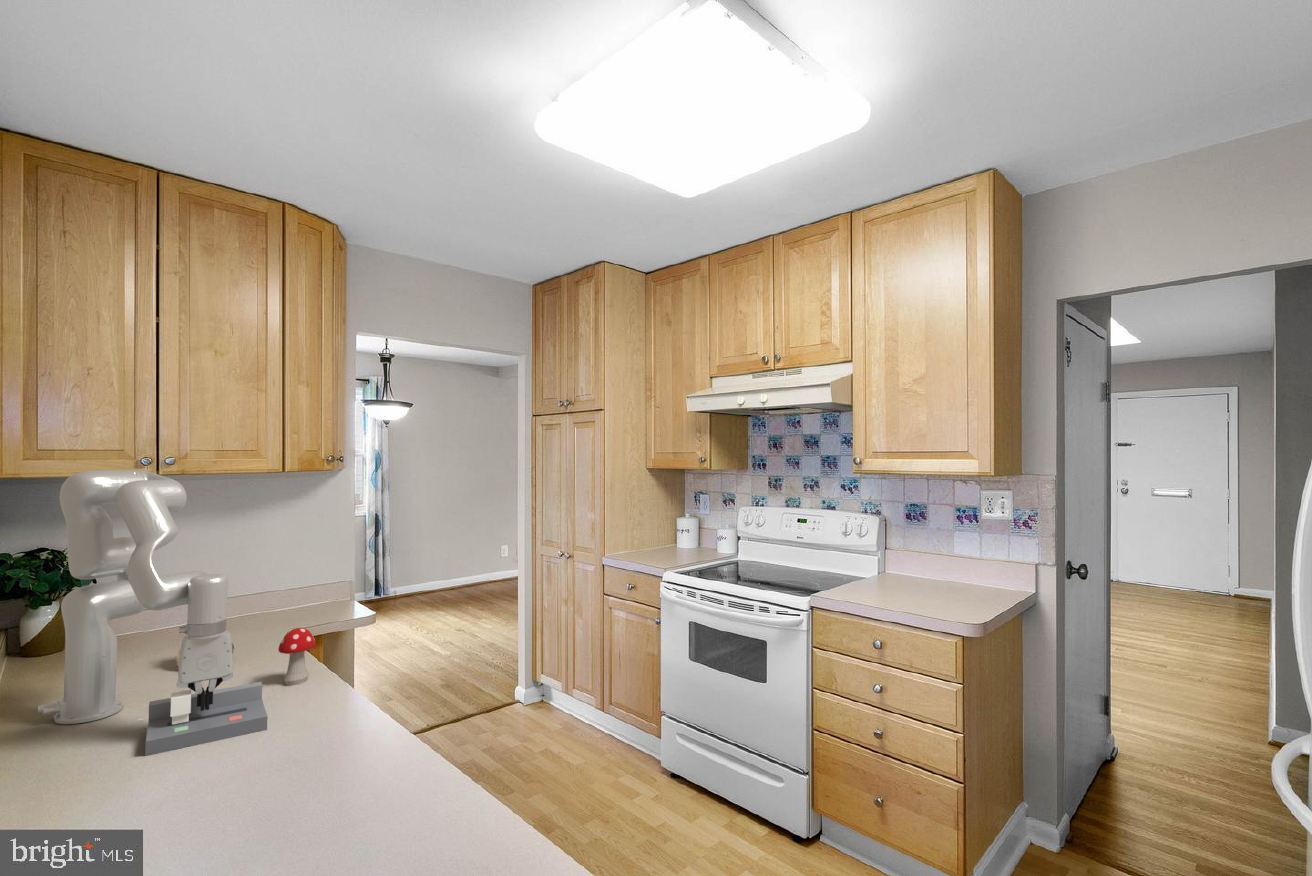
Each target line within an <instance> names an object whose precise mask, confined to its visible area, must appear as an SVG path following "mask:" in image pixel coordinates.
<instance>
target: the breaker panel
mask: <svg viewBox="0 0 1312 876" xmlns="http://www.w3.org/2000/svg"><path fill="white" fill-rule="evenodd" d="M170 715H171V697H168V698H162V699H156V700H152V701H150V700H149V702H148V723H147V729H146V738H145V752H144V755H145V757H147V756H151V755H156V754H160V753H161V754H162V753H166V752H170V751H175V750H179V749H184V748H188V747H193V746H197V745H198V746H199V745H203V744H207V743H210V742H211V743H212V742H216V741H220V740H225V739H230V738H235V737H239V736H240V737H241V736H242V735H243V736H244V735H248V734H252V733H253V734H254V733H257V732H262V730H263V731H267V730H268V713H267V711H266V707H265V705H264V702H263V683H262V681H258V682H253V683H251V682H250V683H247V684H241V685H236V686H229V687H224V688H218V689H215V690H214V691H213V704H210V705H209V710H203V711H201V709H200V707H197V693H196V692H195V693H191V713H189V721H188V722H183V723H178V724H173V725H172V717H170Z"/></svg>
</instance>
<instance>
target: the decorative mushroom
mask: <svg viewBox="0 0 1312 876" xmlns="http://www.w3.org/2000/svg"><path fill="white" fill-rule="evenodd" d="M314 637H315V636H314V635H313V634H312V633H311V631H310V630H309V629H307V628H304V627H296V628H293V629H291V630H289V631H288V632H287V633H286V634H285V635H284V636H283V639H282V640H281V642H280V643H279V646H278V650H277V651H278V653H280V654H285V655H287V654H288V655H289V657H288V658H289V660H288V665H287V670H286V674H285V675H284V679H283V681H284V685H286V686H296V685H301V684H302V683H305V682H306V681H307V680H308V677H309V675H310V674H309V672H308V669H307V665H306V658H305V652H307V651H309V650H312V649H314V648H315V646H316V644H317V643H316V639H315V638H314Z"/></svg>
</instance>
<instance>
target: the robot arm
mask: <svg viewBox="0 0 1312 876" xmlns="http://www.w3.org/2000/svg"><path fill="white" fill-rule="evenodd" d="M187 496H188V494H187V491H186V489H185V488H184V486H183V485H182V483H180V482H179V481H177V480H176V479H173V478H170V477H168V476H163V475H162V474H161V475H160V474H157V473H155V472H151V471H148V470H141V469H99V470H98V469H97V470H95V469H94V470H93V469H92V470H86V471H85V470H84V471H80V472H76V473H74V474H72V475H70V476H69V477H68V478H66V479H65V480H64V482H63V484H62V485H61V487H60V492H59V504H60V509H61V511H62V514H63V516H64V520H65V524H66V539H67V540H66V543H67V544H66V545H67V562H68V563H67V564H68V571H69V572H70V575H71V576H72V578H74V579H77V580H95V579H100V578H107V577H113V576H114V577H115V576H116V579H117V580H112V581H107V582H100V583H93V584H89V585H84V586H83V585H82V586H81V587H77V588H74V589H73V590H71V591H70V592H68V593H66V595H65V596H64V598H63V599H62V601H61V604H60V607H61V608H60V609H61V610H60V611H61V616H62V620H63V626H64V631H65V632H64V633H65V648H64V649H65V651H64V654H65V658H64V660H65V661H64V684H63V697H62V699H61V700H57V701H56V702H55V703H45V704H40V705H38V707H37V715H38V714H40V715H41V714H42V715H45V716H46V715H51V714H55V713H56V714H55V715H54V716H53V722H54V723H56V724H60V725H75V724H76V725H77V724H83V723H84V724H85V723H88V722H93V721H98V720H101V719H105V718H107V717H110V716H112V715H113V716H114V715H115V714H117V713H119V712H120V711H122V709H123V708H124V702H122V701H121V700H117V699H116V691H117V687H116V686H117V685H116V684H117V663H118V662H117V661H118V660H117V659H118V637H117V635H116V631H114V629H112V628H111V626H110V625H109V624H108V622H110V621H113V620H116V619H122V618H125V617H130V616H134V615H137V614H140V613H141V612H143V611H145V610H146V609H147V610H149V611H163V610H167V609H171V608H175V607H179V606H185V605H187V617H186V618H187V619H186V620H187V621H186V624H185V625H183V626H179V628H178V630H179V631H178V633H179V634H184V635H185V634H187V636H185V637H184V638H183V640H182V644H181V650H180V657H179V667H178V669H177V670H178V671H177V672H178V673H177V677H178V678H177V682H176V688H179V689H182V688H183V689H186V688H187V689H189V690H191V691H192V692H195V693H197V707H200V709H201V711H203V710H209V705H210V704H213V691H214V690H216V689H217V687H218V686H219V685H221V683H223V682H226V681H229V680H231V679H233V677H234V673H233V666H234V665H233V664H234V662H233V661H234V658H233V654H234V650H233V651H232V643H233V641H232V640H233V639H232V635H231V632H230V631H229V630H227V624H228V623H227V622H228V621H227V620H228V592H229V591H228V588H229V587H228V586H229V585H228V582H229V580H228V577H227V576H226V575H224V574H221V573H208V572H205V571H199V570H192V571H184V572H178V573H174V574H168V575H167V574H166V575H161V576H159V574H158V572H157V571H156V568H155V566H154V562H153V554H154V552H155V551H158V550H159V549H161V548H163V547H165V546H167V545H168V544H170V543H171V542H173V541H174V540H175V539H176V538H177V537H178V535H179V528H178V526H177V524H176V522H175V520H174V519H173V516H172V514H171V513H174V512H178V511H181V510H182V509H183V508H184V507H185V506H186V503H187V499H188V498H187ZM110 504H111V505H113V504H114V505H115V504H116V506H117V508H118V511H119V512H120V515H121V517H122V519H123V520H124V523H125V524H126V527H127V529H128V531H129V533H130V536H123V537H122V536H121V537H114V530H113V528H114V526H113V525H114V524H113V521H112V518H111V517H110V515H109V514H108V512H107V511H106V510H105V509H104V508H103V507H102V506H101V505H110ZM206 681H208V684H207V686H206V689H204V687H203V685H202V682H206Z"/></svg>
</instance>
